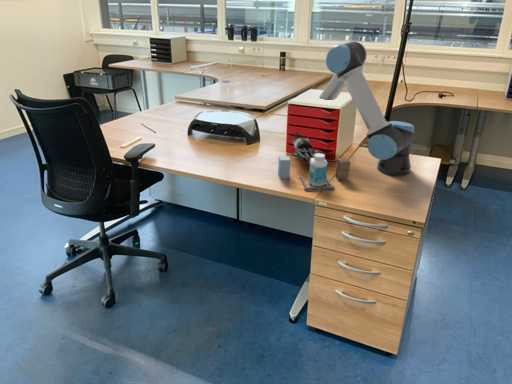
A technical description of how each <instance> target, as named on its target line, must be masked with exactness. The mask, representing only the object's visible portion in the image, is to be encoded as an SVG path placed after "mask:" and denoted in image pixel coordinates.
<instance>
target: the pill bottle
mask: <svg viewBox="0 0 512 384" xmlns="http://www.w3.org/2000/svg"><path fill="white" fill-rule="evenodd" d="M325 158H326V155H325V154H324V153H321V152H320V153H316V154H315V153H314V159H312V160H311V161H310V165H309V170H308V171H309V174H308V175H309V176H308V184H309V185H310V186H311V187H324V186H325V185H326V184H327V182H326V176H327V170H328V161H327V160H326V159H325Z"/></svg>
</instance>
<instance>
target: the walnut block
mask: <svg viewBox="0 0 512 384" xmlns="http://www.w3.org/2000/svg"><path fill="white" fill-rule="evenodd" d="M350 168H351V161H350V160H349V158H347V157H343V158H341V157H340V158H339V157H338V158H337V160H336V168H335V175H334V176H335V178H336V180H337V181H346V182H347V181H348V180H349V174H350Z"/></svg>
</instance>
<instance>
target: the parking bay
mask: <svg viewBox="0 0 512 384" xmlns="http://www.w3.org/2000/svg"><path fill="white" fill-rule="evenodd" d="M299 179H300V181H301V183H303V184H302V185H303V186H302V187H303V188H304V189H303V190H304V191H305V192H306V191H307V192H308V191H309V190H310V192H311V190H312V191H333V190H334V191H335V188H336V187H335V186H333V184H332V182H331V181H330V179H329V178H328V176H327V175H326V185H327V186H325V185H324V186H319V187H317V186H308V184H307V183H306V181H305V179H304V177H303V175H299Z"/></svg>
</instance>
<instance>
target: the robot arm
mask: <svg viewBox="0 0 512 384" xmlns="http://www.w3.org/2000/svg"><path fill="white" fill-rule="evenodd" d="M366 60H367V50H366V47H365V46H364V45H363V44H362V43H361V42H358V41H350V42H344V43H337V44H336V45H333V46H332V47H330V48H329V50H328V51H327V53H326V57H325V64H326V65H325V66H326V68H327V69H328V71H330V73H333V76H332V77H331V79H330V80H329V82H328V83H327V85H326V86H325V88H324V89H323V90H322V92H321V94H320V95H319V96H318V98H320V99H324V100H334V99H337V98H338V97H339V96H340V94H341V93H342V92H343V90H344V88H345V87H346V89H347V90H348V93H349V95H350V97H351V98H352V101H353V104H354V105H355V107H356V109H357V111H358V113H359V115H360V117H361V119H362V121H363V123H364V125H365V127H366V129H367V131H366V137H367V139H368V142H367V150H368V153H370V154H369V155H371V157H373V158H375V159H377V160H378V162H377V166H376V169H377V170H378V171H380V172H381V173H382V174H386V175H390V176H398V177H401V176H406V175H409V174H410V173H411V168H412V167H411V166H412V165H411V161H410V154H411V153H410V152H411V148H412V143H413V139H414V134H415V126H414V125H413V124H411V123H408V122H406V121H398V120H391V121H387V120H386V118H385V116H384V114H383V112H382V110H381V107H380V105H379V104H378V102H377V100H376V99H377V98H375V96H374V94H373V92H372V90H371V87H370V86H369V83H368V81H367V79H366V77H365V75H364V73H363V70H364V64H365V63H366ZM296 133H297V132H296ZM296 133H295V136H294V139H293V143H292V145H293V144H294V145H293V147H294V148H295V149H294V150H293V156H294V157H296V158H298V160H300V162H302V163H303V164H304V163H306V165H309V166H310V161H311V160H312V159H314V154H316V153H321V150H320V149H317V150H315V149H314V147H313V146H312V144H311V142H310V141H309V138H307V139H306V138H305V137H302V136H299V134H298V133H297V134H296Z"/></svg>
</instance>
